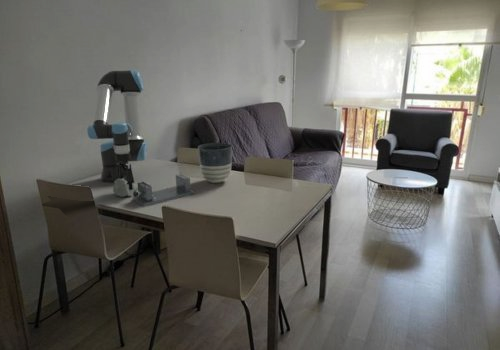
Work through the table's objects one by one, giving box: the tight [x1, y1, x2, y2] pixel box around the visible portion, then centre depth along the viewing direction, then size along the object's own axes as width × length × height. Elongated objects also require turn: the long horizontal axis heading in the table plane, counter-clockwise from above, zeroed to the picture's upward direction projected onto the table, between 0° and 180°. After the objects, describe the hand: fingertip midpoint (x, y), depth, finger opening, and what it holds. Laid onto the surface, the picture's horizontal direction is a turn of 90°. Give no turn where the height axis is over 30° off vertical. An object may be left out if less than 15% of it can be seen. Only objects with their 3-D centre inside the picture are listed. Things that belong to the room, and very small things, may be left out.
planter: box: [197, 142, 233, 184], centre depth 217 cm, size 20×20×21 cm
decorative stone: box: [112, 179, 138, 198], centre depth 199 cm, size 13×11×10 cm
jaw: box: [132, 180, 153, 201], centre depth 186 cm, size 10×8×8 cm
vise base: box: [132, 173, 195, 207], centre depth 194 cm, size 14×28×9 cm, turn 130°
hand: (126, 192), depth 200 cm, fingers closed on decorative stone, 10 cm apart
